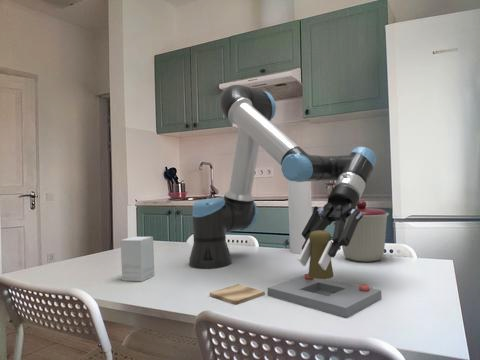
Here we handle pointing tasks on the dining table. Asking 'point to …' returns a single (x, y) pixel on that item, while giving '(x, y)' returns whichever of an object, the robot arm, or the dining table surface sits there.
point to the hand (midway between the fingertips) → (311, 264)
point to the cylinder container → (298, 212)
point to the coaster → (237, 294)
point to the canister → (367, 235)
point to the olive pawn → (319, 255)
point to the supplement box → (137, 258)
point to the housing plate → (339, 303)
